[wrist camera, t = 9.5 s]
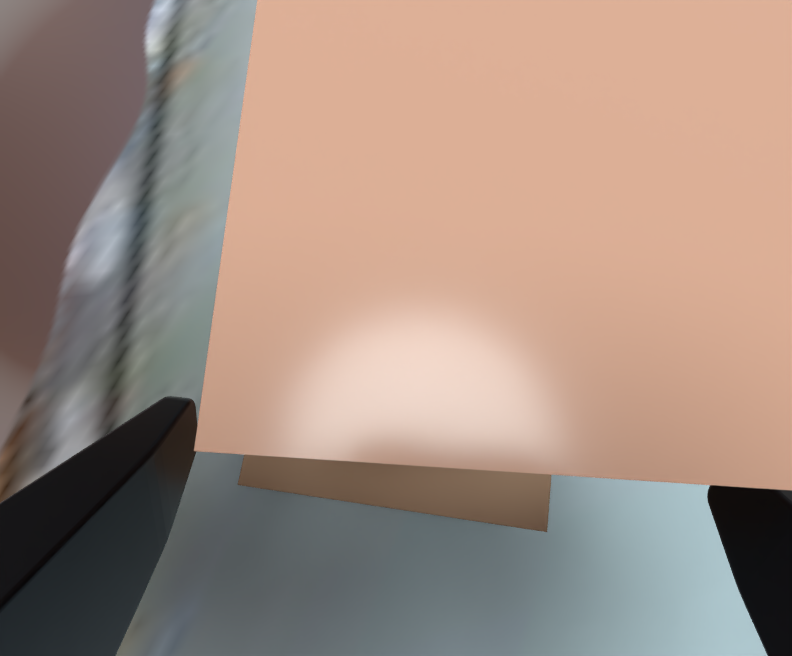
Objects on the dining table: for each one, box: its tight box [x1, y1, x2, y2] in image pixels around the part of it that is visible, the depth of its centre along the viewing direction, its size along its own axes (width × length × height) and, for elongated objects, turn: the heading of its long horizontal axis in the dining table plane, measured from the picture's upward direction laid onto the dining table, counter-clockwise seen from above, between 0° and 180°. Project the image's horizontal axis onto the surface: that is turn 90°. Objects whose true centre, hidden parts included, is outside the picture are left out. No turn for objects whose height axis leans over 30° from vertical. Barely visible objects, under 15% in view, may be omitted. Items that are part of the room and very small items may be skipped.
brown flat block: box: [238, 454, 551, 532], centre depth 19 cm, size 10×10×4 cm
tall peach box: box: [194, 0, 792, 490], centre depth 11 cm, size 6×6×12 cm
